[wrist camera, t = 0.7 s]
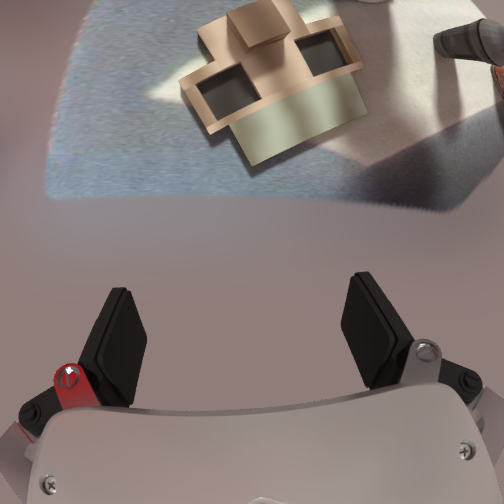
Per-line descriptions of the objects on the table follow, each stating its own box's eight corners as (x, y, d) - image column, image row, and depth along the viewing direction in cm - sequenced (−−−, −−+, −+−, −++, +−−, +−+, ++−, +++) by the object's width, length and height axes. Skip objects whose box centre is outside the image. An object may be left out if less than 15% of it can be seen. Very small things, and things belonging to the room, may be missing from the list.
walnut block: (264, 8, 23) (269, -3, 19) (283, 39, 25) (291, 31, 22) (226, 22, 24) (226, 12, 20) (246, 54, 26) (248, 47, 23)
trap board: (315, -9, 23) (319, -14, 21) (375, 107, 32) (382, 108, 30) (162, 53, 26) (159, 50, 25) (233, 172, 35) (234, 176, 34)
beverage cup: (421, 44, 26) (522, 38, 9) (433, 17, 23) (525, 5, 6) (450, 73, 28) (547, 85, 11) (461, 46, 25) (551, 50, 8)
